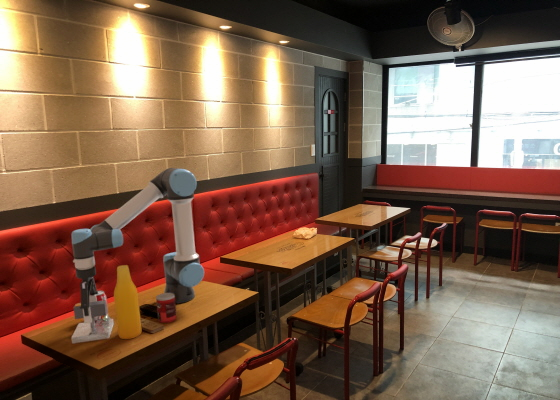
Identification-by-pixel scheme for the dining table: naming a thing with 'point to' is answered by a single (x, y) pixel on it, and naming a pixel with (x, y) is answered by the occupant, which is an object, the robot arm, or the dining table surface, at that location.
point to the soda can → (100, 297)
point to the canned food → (166, 307)
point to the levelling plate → (93, 330)
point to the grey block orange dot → (96, 310)
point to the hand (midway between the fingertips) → (91, 316)
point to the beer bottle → (126, 305)
